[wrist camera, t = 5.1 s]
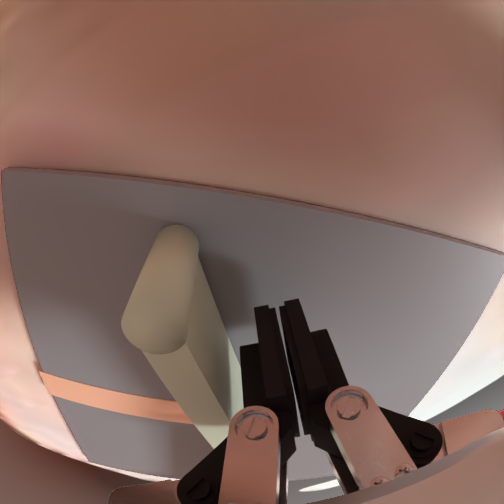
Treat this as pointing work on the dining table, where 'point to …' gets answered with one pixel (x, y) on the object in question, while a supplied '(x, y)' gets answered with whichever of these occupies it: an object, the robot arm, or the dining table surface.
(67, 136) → the dining table surface
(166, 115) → the dining table surface
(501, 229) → the dining table surface
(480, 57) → the dining table surface
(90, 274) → the board
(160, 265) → the bar
